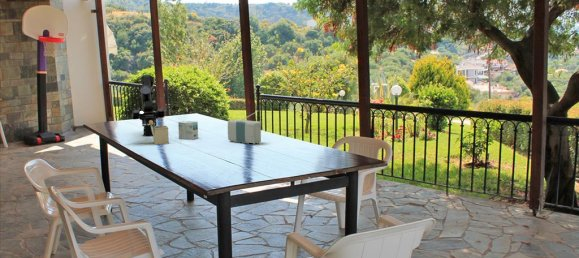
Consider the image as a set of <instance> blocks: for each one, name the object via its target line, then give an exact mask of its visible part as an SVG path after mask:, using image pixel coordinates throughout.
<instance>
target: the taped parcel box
mask: <svg viewBox="0 0 579 258" xmlns="http://www.w3.org/2000/svg"><path fill="white" fill-rule="evenodd" d="M258 112H259V110H257V111H255V112H254V113H251V114H249V115H248V116H246V117H244V118H242V119H231V120H227V140H228V141H229V142H231V141H233V142H235V143H240V142H242V144H249V143H253V144H252V145H256V144H255V143H257V144H259V143H258V142H260V143H261V141H262V127H261V126H262V122H261V121H255V120H246V119H247V118H250V117H251V116H252V115H255V113H258ZM233 142H232V143H233Z"/></svg>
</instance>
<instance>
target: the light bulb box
mask: <svg viewBox="0 0 579 258" xmlns="http://www.w3.org/2000/svg"><path fill="white" fill-rule="evenodd" d="M177 123H178V125H177V126H178V127H177V128H178V139H179V140H195V139H199V123H198V121H190V120H189V121H188V120H182V121H178V122H177Z"/></svg>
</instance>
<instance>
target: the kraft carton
mask: <svg viewBox="0 0 579 258" xmlns="http://www.w3.org/2000/svg"><path fill="white" fill-rule="evenodd" d="M153 131H154V136H153V135H152V136H153V143H154V145H166V144H169V143H170V142H169V127H168V126H167V125H157V126H153Z"/></svg>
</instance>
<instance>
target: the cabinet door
mask: <svg viewBox="0 0 579 258" xmlns="http://www.w3.org/2000/svg"><path fill="white" fill-rule="evenodd" d="M149 124H150V125H151V129H152V134H153V135H152V136H154V131H153V127H152V124H153V121H152V120H149Z"/></svg>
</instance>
